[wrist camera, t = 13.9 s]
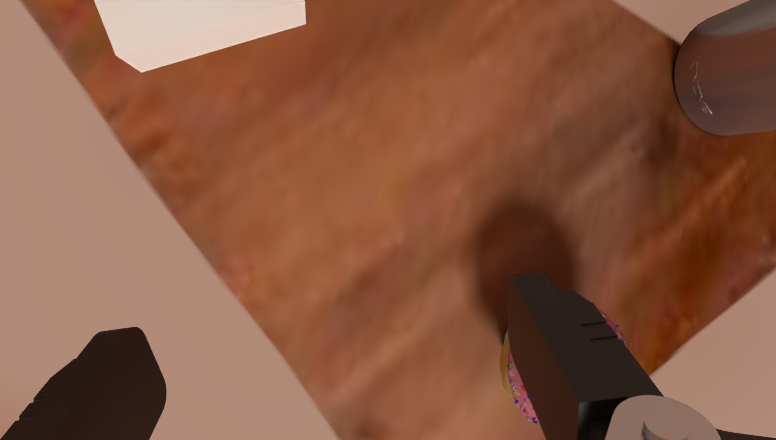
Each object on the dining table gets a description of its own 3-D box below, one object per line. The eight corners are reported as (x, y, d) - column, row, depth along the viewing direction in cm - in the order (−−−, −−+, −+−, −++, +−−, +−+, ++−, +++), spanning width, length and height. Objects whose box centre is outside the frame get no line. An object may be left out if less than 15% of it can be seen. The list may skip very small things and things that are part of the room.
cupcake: (518, 417, 36) (617, 529, 24) (456, 330, 35) (529, 403, 23) (605, 348, 37) (742, 424, 25) (548, 261, 36) (664, 297, 24)
